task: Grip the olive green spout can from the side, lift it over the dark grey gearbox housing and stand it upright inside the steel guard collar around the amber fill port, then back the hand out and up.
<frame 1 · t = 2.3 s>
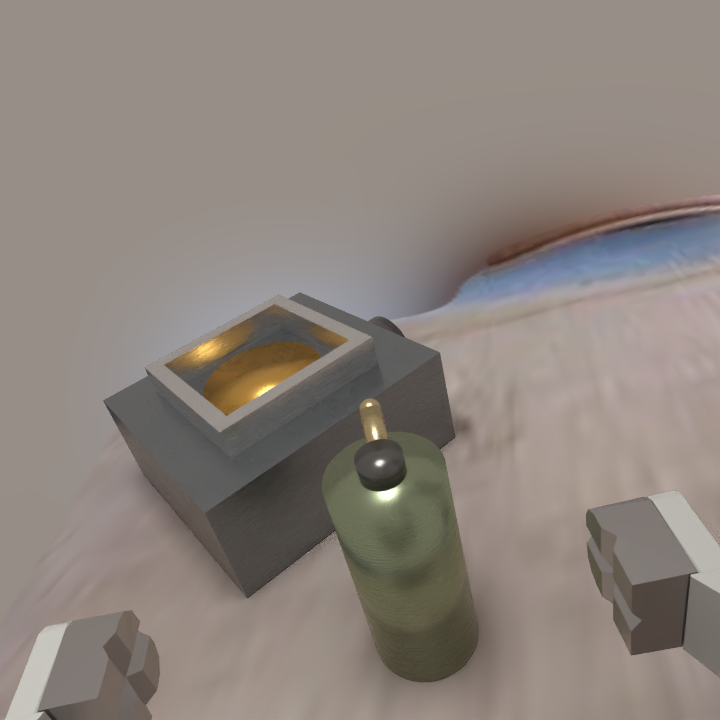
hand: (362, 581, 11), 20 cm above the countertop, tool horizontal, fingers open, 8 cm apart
gearbox housing: (292, 456, 46), on the countertop
spout can: (426, 631, 32), on the countertop
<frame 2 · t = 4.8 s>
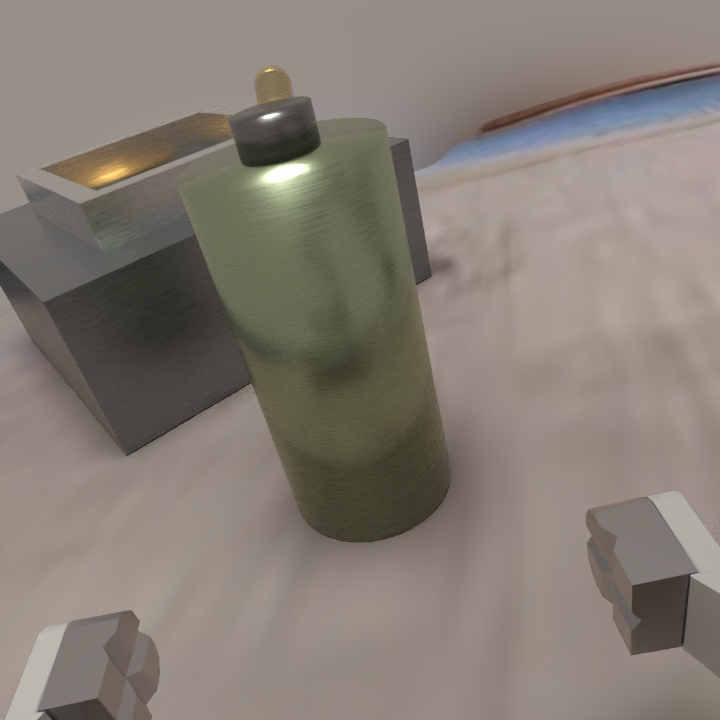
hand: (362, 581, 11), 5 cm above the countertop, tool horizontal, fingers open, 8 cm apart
gearbox housing: (219, 309, 35), on the countertop
spout can: (372, 479, 21), on the countertop
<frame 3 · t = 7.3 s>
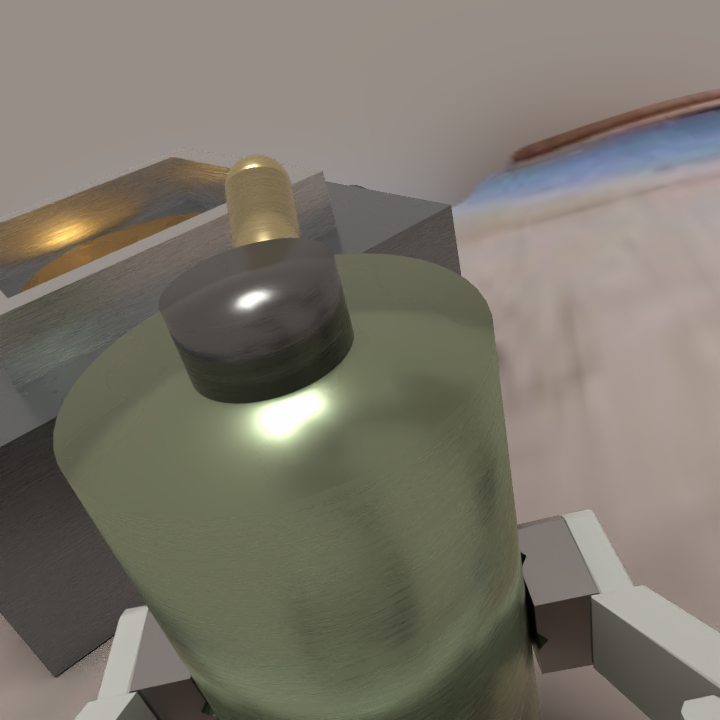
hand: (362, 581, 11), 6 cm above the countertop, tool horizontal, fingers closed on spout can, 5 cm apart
gearbox housing: (198, 411, 27), on the countertop
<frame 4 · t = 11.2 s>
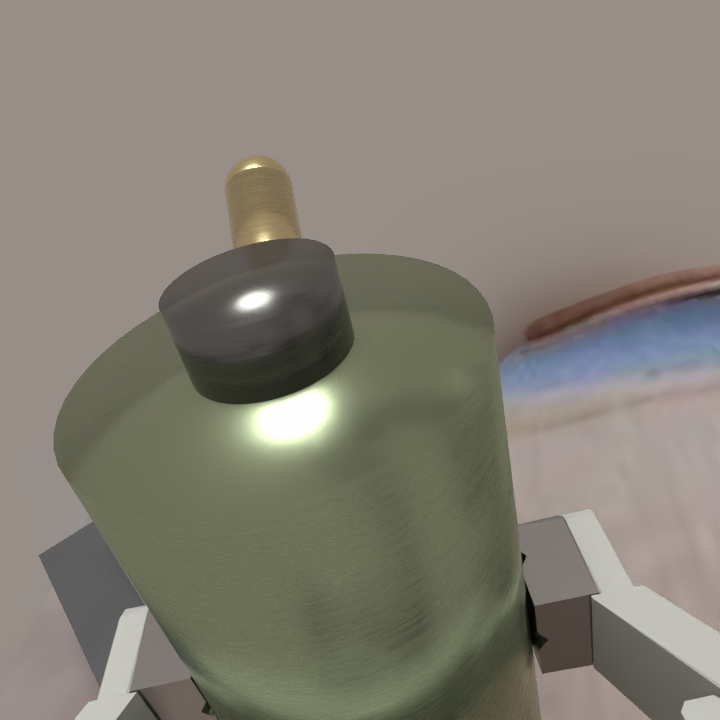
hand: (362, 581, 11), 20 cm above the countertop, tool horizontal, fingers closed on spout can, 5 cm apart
gearbox housing: (288, 623, 35), on the countertop
when the fingers open (14 cm above the countertop, at t = 15.2 s): spout can drops 1 cm, resting on gearbox housing.
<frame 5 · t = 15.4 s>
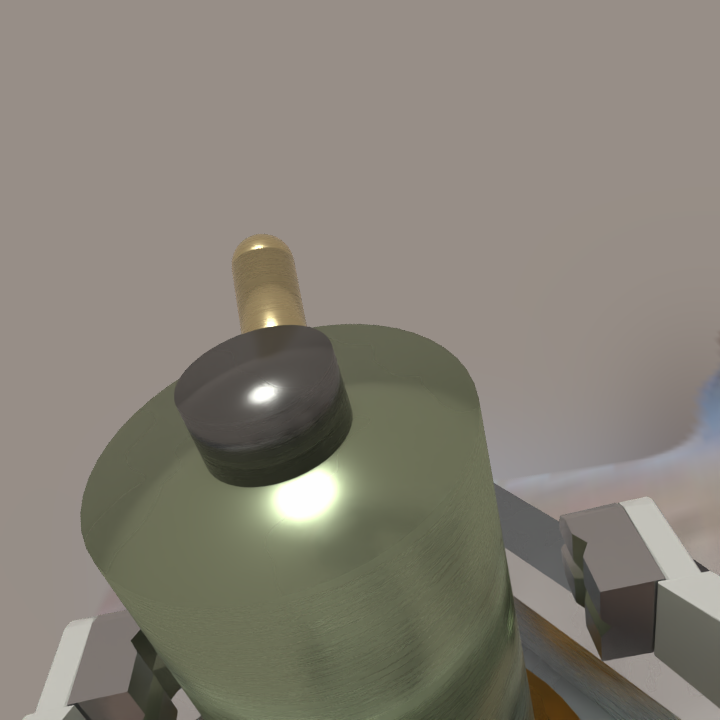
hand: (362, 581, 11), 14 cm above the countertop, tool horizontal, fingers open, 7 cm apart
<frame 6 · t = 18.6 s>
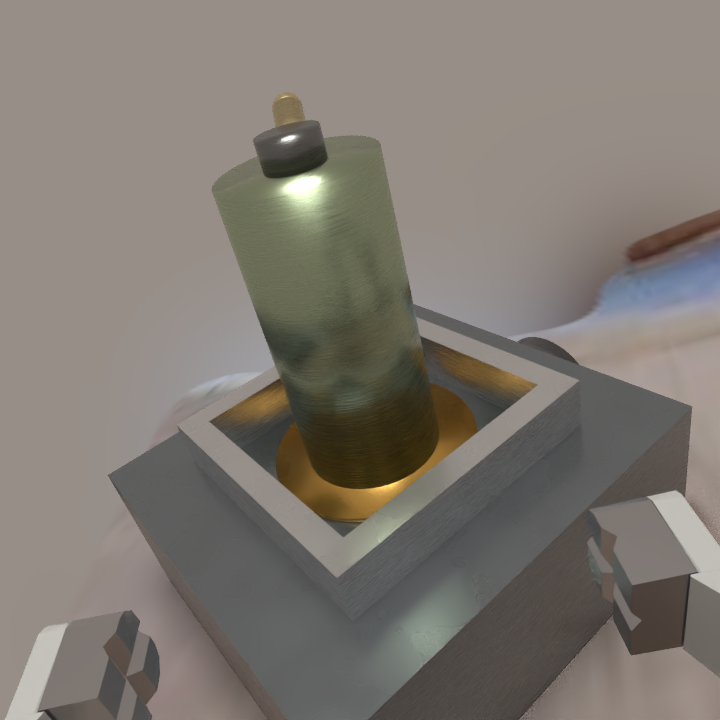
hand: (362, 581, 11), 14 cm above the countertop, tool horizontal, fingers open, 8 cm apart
gearbox housing: (406, 559, 29), on the countertop
spout can: (373, 440, 25), point 7 cm above the countertop, touching gearbox housing
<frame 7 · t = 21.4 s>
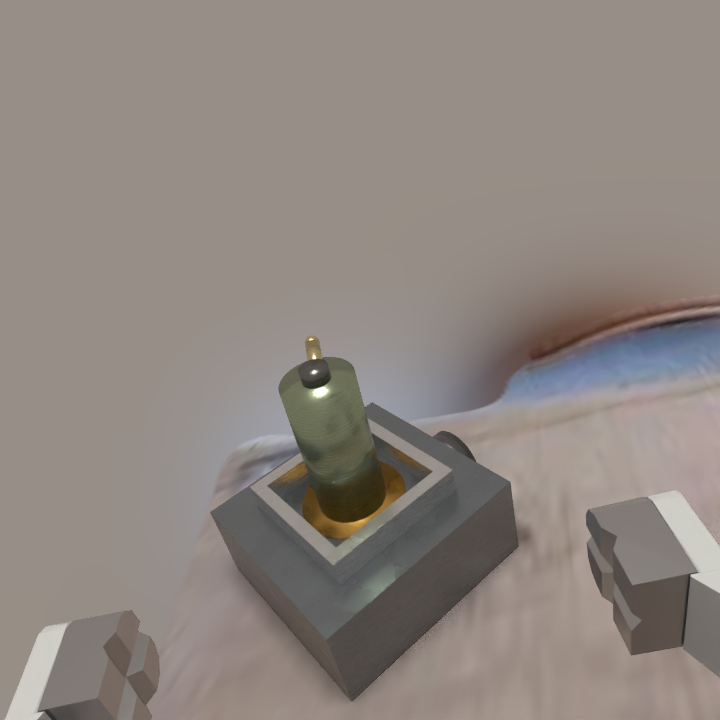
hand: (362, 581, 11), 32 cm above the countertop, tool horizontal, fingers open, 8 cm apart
gearbox housing: (372, 558, 52), on the countertop
spout can: (352, 496, 48), point 7 cm above the countertop, touching gearbox housing
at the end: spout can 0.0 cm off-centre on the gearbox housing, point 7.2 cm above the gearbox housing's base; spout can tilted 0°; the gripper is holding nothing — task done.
